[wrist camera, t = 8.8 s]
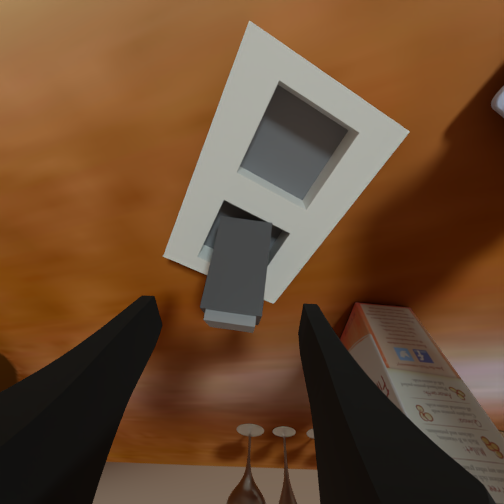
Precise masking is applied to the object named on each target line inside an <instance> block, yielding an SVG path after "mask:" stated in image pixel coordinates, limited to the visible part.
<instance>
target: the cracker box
mask: <svg viewBox="0 0 504 504" xmlns="http://www.w3.org/2000/svg"><path fill="white" fill-rule="evenodd" d="M340 340H341V342H342V343H343V345H344V346H345V347H346V349H347V350H348V351H349V353H350V354H351V355H352V357H353V358H354V359H355V360H356V362H357V363H358V364H359V366H360V367H361V368H362V369H363V370H364V372H365V373H366V374H367V375H368V376H369V377H370V379H371V380H372V381H373V382H374V383H375V384H376V385H377V386H378V388H379V389H380V390H381V391H382V392H383V393H384V394H385V395H386V396H387V397H388V398H389V399H390V400H391V401H392V402H393V403H394V404H395V405H396V406H397V407H398V408H399V409H400V410H401V411H402V412H403V413H404V414H405V415H406V416H407V417H408V418H409V419H410V420H411V421H412V422H413V423H414V424H415V425H416V426H417V427H418V428H419V429H420V430H421V431H422V432H423V433H424V434H426V435H427V436H428V437H429V438H430V439H431V440H432V441H433V442H434V443H435V444H437V445H438V446H439V447H440V448H441V449H442V450H443V451H444V452H446V453H447V454H448V455H449V456H450V457H452V458H453V459H454V460H455V461H456V462H458V463H459V464H460V465H461V466H462V467H463V468H465V469H466V470H467V471H468V472H469V473H471V474H472V475H473V476H474V477H475V478H477V479H478V480H479V481H480V482H481V483H482V484H484V486H485V487H486V489H487V490H488V492H489V493H490V495H491V496H492V498H493V499H494V501H495V503H496V504H504V438H503V436H502V435H501V434H500V432H499V431H498V429H497V428H496V427H495V425H494V424H493V422H492V421H491V419H490V418H489V417H488V415H487V414H486V412H485V411H484V410H483V408H482V407H481V405H480V404H479V403H478V401H477V400H476V398H475V397H474V396H473V394H472V393H471V392H470V390H469V389H468V387H467V386H466V385H465V383H464V382H463V380H462V379H461V378H460V376H459V375H458V373H457V372H456V371H455V369H454V368H453V367H452V365H451V364H450V362H449V361H448V359H447V358H446V357H445V355H444V354H443V353H442V351H441V350H440V348H439V347H438V346H437V344H436V343H435V341H434V340H433V339H432V337H431V336H430V334H429V333H428V332H427V330H426V329H425V327H424V326H423V325H422V323H421V322H420V320H419V319H418V318H417V317H416V315H415V314H414V312H413V311H412V310H411V308H409V307H400V306H390V305H379V304H369V303H359V302H355V304H354V307H353V309H352V312H351V314H350V316H349V319H348V321H347V323H346V326H345V329H344V331H343V333H342V336H341V338H340Z"/></svg>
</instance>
